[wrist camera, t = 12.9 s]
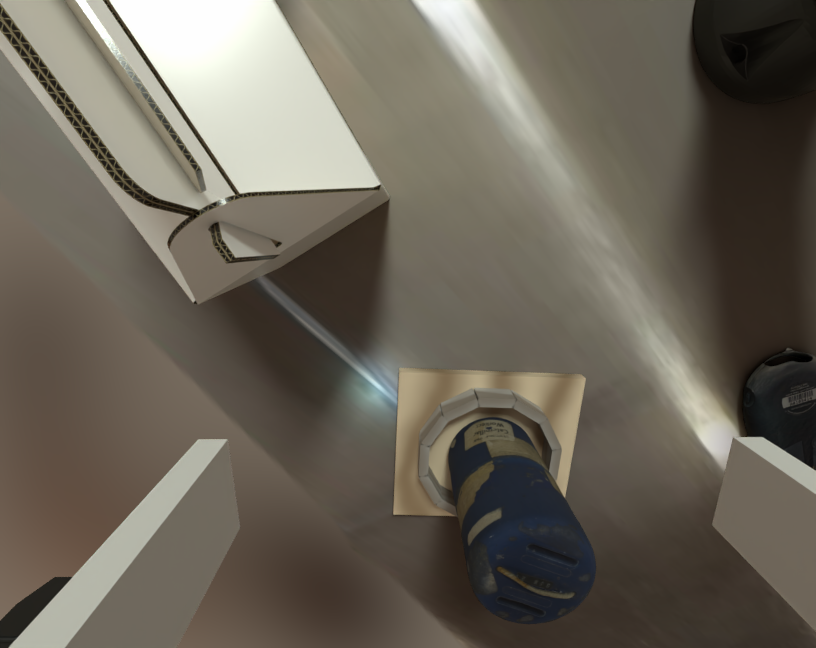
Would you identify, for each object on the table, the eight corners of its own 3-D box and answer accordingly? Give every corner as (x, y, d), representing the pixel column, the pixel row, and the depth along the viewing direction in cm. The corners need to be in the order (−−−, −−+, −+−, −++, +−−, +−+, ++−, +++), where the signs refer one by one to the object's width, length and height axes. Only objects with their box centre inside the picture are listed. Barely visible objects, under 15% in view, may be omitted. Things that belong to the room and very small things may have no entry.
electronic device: (816, 441, 49) (822, 338, 43) (859, 476, 44) (872, 365, 38) (732, 458, 51) (727, 361, 45) (764, 494, 46) (763, 390, 40)
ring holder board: (580, 374, 44) (596, 388, 41) (557, 511, 49) (569, 535, 45) (399, 367, 44) (399, 381, 40) (393, 507, 49) (392, 530, 45)
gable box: (392, 200, 39) (372, 173, 12) (280, 270, 41) (46, 381, 14) (255, -37, 34) (-312, -1003, 7) (133, 54, 36) (-709, -446, 9)
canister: (492, 499, 47) (545, 667, 30) (428, 457, 45) (445, 608, 28) (547, 441, 45) (639, 584, 28) (483, 395, 43) (537, 516, 26)
